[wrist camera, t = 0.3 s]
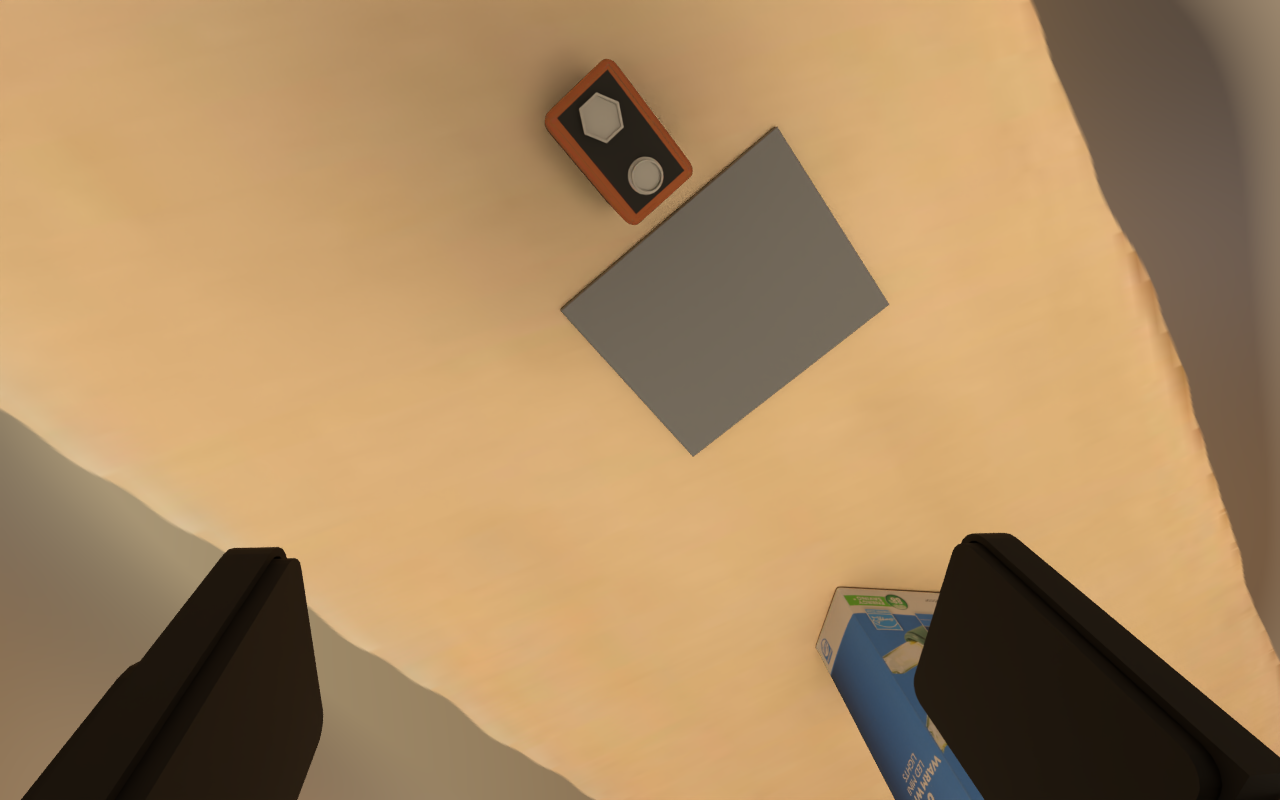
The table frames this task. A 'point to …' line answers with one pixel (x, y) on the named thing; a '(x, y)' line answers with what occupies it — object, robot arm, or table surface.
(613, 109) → the battery
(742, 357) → the mat
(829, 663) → the string lights box
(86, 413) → the table surface
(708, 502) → the table surface
